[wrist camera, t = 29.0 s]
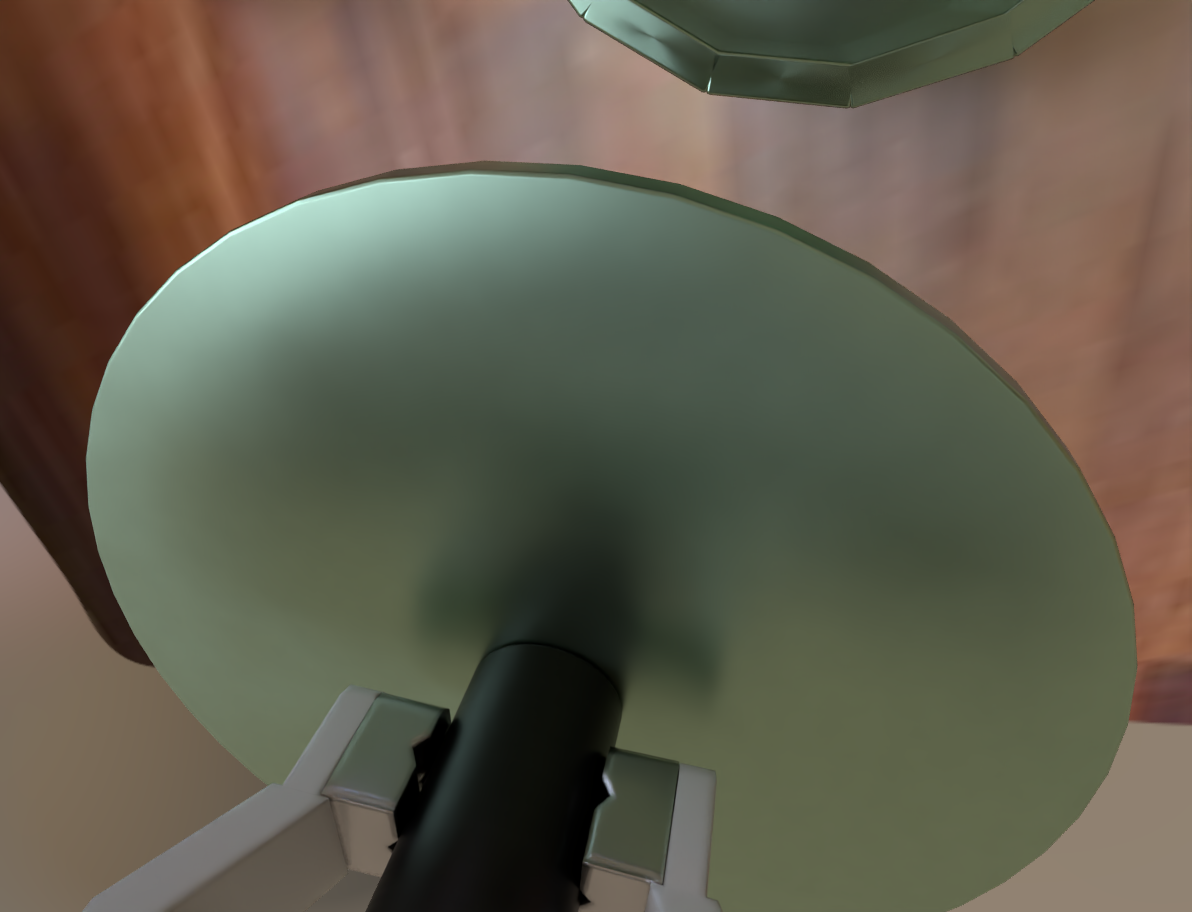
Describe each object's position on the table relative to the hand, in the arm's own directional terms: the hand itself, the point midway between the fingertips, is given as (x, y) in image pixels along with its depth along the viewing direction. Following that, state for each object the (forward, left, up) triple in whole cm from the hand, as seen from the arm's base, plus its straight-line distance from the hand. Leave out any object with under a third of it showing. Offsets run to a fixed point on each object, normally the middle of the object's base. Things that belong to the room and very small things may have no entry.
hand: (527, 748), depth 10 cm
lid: (0, 0, -2) cm, 2 cm away
